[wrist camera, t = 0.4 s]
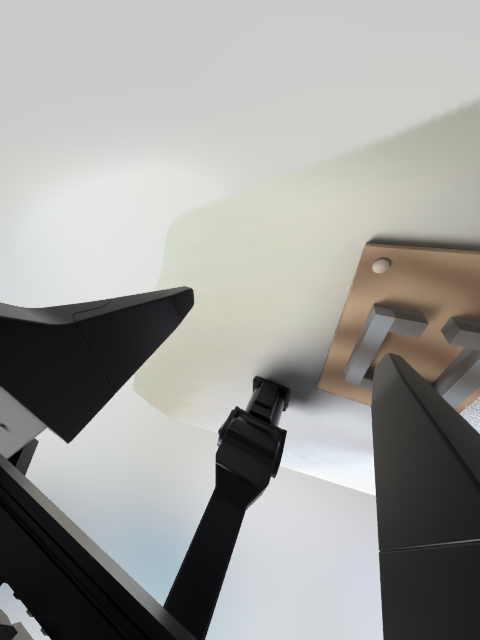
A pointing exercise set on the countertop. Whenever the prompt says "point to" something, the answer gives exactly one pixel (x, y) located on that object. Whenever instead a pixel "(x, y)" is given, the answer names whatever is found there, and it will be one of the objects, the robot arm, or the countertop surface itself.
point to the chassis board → (410, 322)
